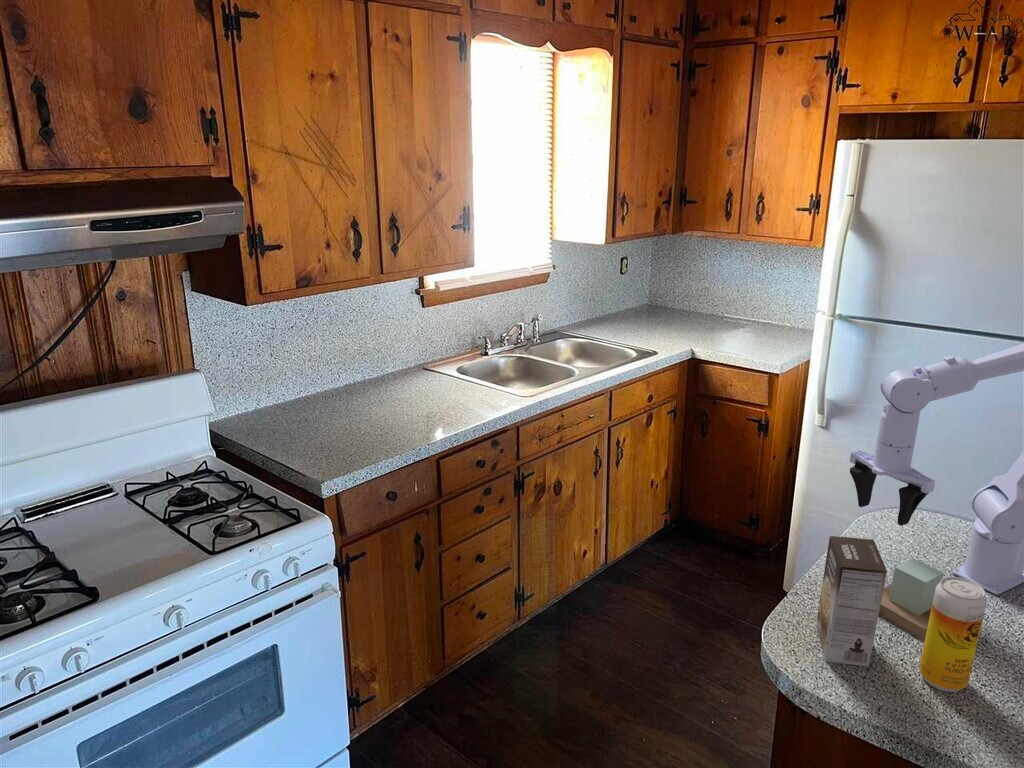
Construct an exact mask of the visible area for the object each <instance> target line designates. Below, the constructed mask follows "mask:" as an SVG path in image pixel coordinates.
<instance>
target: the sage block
mask: <svg viewBox="0 0 1024 768" xmlns="http://www.w3.org/2000/svg"><path fill="white" fill-rule="evenodd" d="M893 571H894V572H893V574H892V575H893V576H892V579H891V580H892V581H891V585H890V586H891V590H890V595H889V600H890V601H892V602H894V603H896V604H898V605H899V606H901V607H903V608H905V609H907V610H909V611H910V612H912V613H914V614H916V615H918V616H919V615H921V614H923V613H924V612H926V611H928V610H930V609H931V608H932V604H933V599H934V594H935V589H936V586H937V585H938V584H939V583H940V582H941V580H942V579H943V578H944V574H945V573H944V572H942V571H940V570H938V569H936V568H934V567H932V566H930V565H928V564H926V563H924V562H923V561H922V562H921V561H919V560H918V559H915V558H914V557H913V558H911V559H909V560H907V561H905V562H903V563H900V564H899V565H896V566H895V567H894V570H893Z"/></svg>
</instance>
